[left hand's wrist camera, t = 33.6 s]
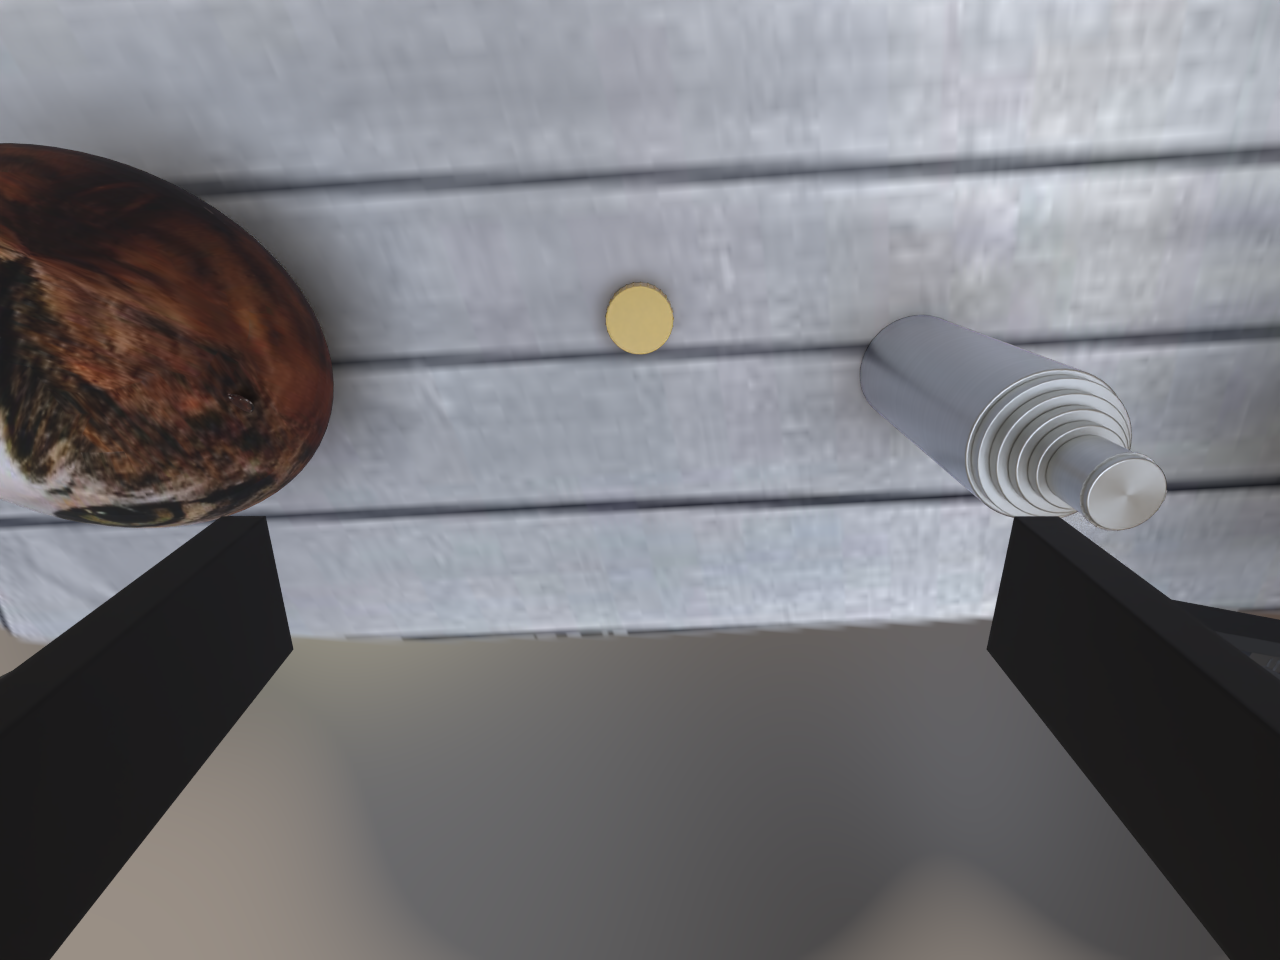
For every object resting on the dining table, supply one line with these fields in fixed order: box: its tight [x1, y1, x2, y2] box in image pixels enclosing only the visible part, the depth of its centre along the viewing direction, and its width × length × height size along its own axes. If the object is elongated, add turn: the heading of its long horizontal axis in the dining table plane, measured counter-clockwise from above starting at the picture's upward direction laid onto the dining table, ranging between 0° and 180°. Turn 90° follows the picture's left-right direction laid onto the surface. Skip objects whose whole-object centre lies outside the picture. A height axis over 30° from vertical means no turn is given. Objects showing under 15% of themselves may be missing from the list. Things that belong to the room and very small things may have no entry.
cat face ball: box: [0, 143, 333, 528], centre depth 38 cm, size 22×18×20 cm
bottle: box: [860, 315, 1167, 531], centre depth 36 cm, size 7×7×22 cm
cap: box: [605, 282, 674, 354], centre depth 44 cm, size 4×4×2 cm
